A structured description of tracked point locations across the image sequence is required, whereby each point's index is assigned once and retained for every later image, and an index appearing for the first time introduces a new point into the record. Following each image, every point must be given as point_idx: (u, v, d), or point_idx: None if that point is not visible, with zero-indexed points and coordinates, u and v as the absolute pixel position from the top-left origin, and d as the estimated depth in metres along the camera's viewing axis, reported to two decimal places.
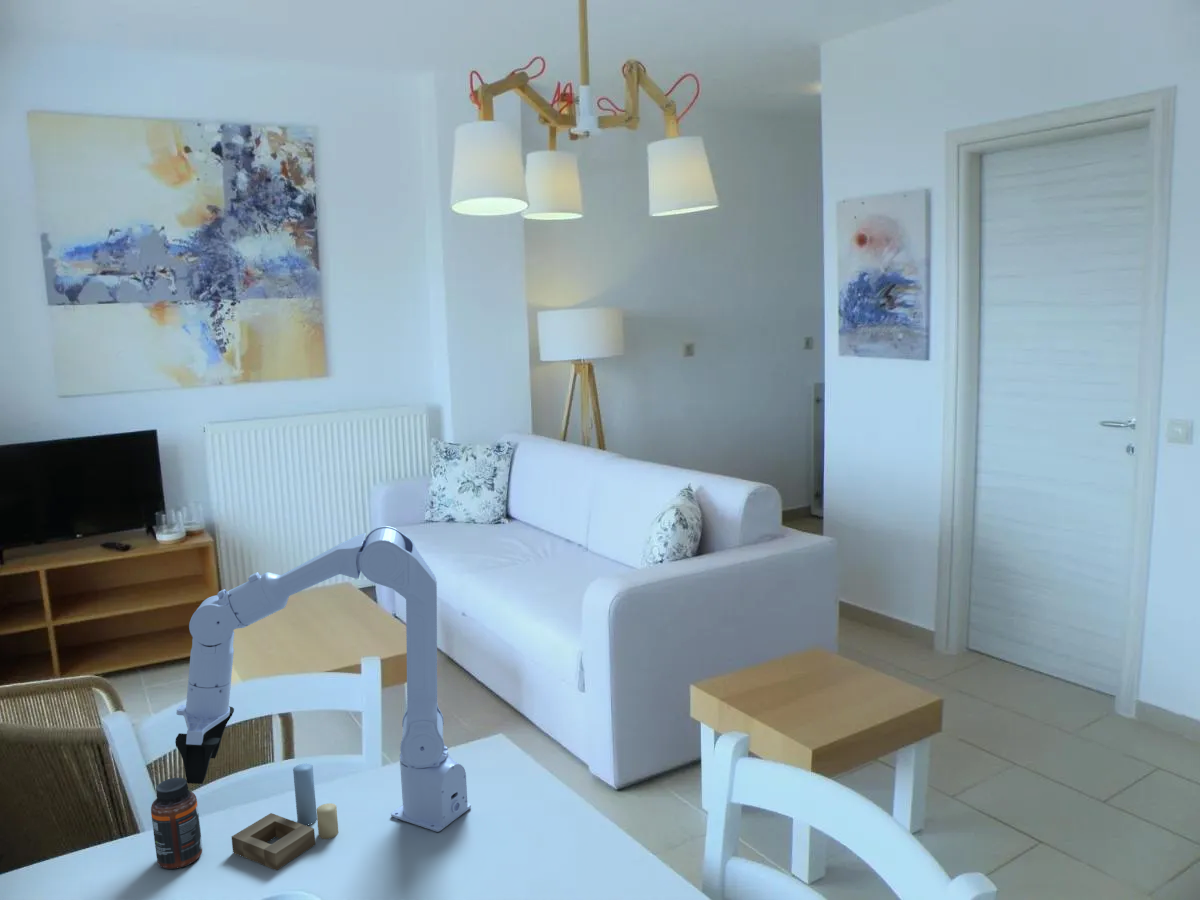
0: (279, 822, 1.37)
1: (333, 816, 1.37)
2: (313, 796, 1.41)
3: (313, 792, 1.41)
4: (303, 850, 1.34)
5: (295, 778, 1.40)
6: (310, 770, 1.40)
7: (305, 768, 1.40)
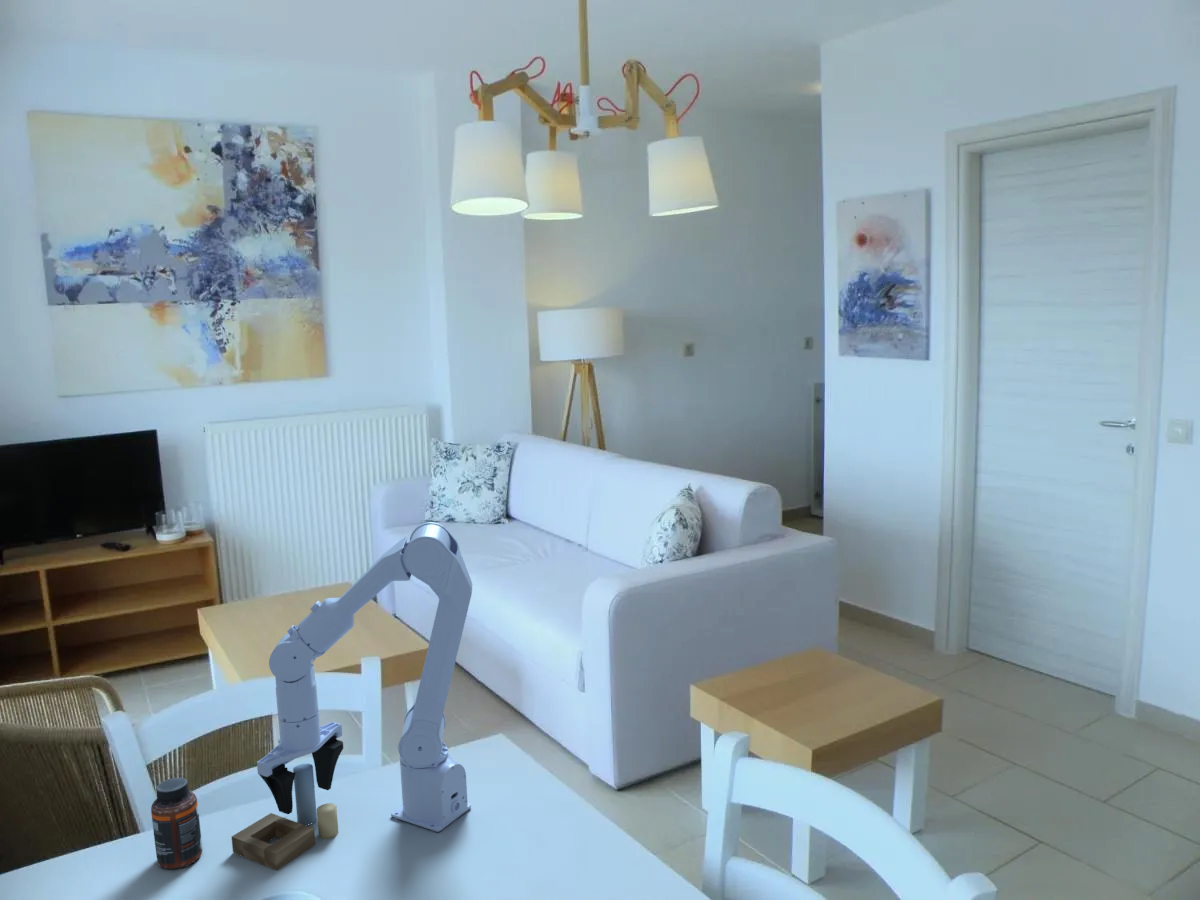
0: (279, 822, 1.37)
1: (333, 816, 1.37)
2: (313, 796, 1.41)
3: (313, 792, 1.41)
4: (303, 850, 1.34)
5: (295, 778, 1.40)
6: (310, 770, 1.40)
7: (305, 768, 1.40)
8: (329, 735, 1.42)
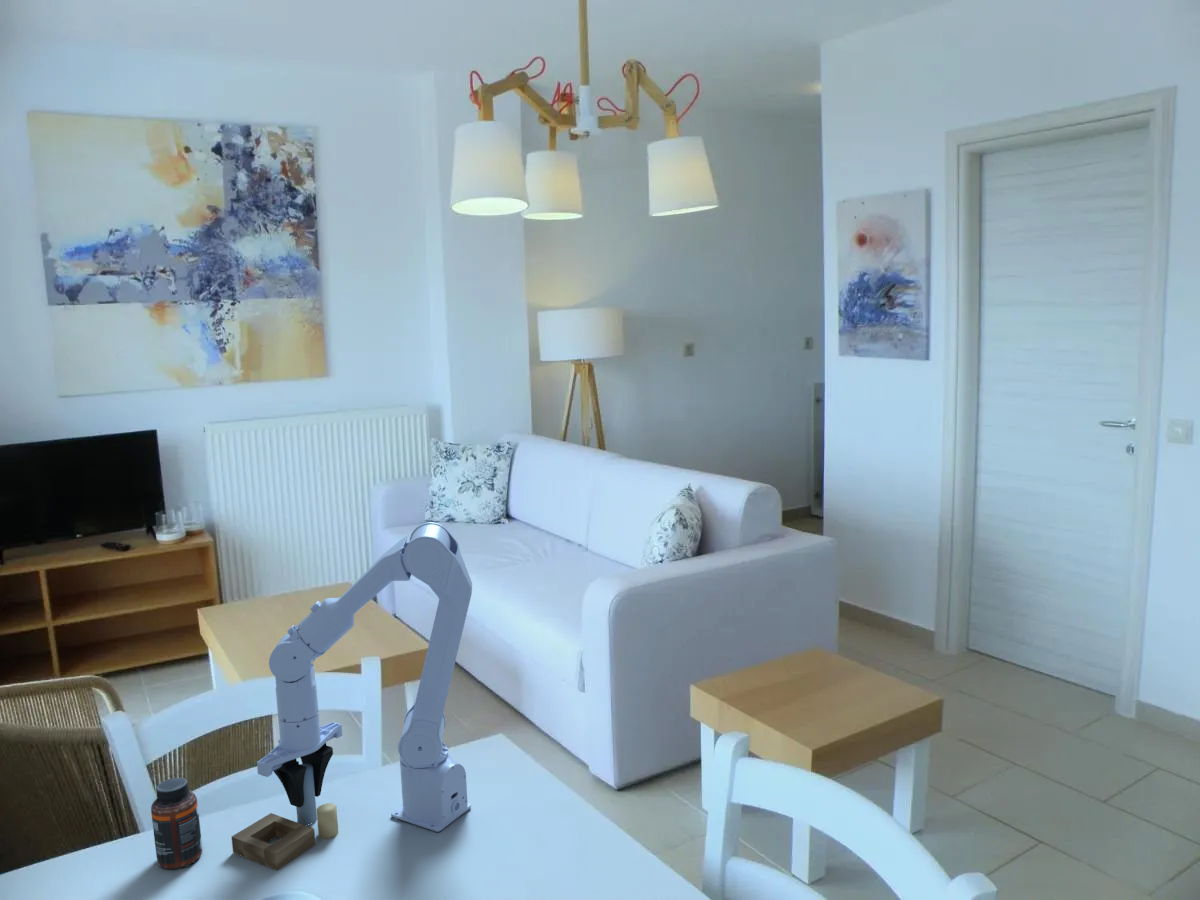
0: (279, 822, 1.37)
1: (333, 816, 1.37)
2: (313, 796, 1.41)
3: (313, 792, 1.41)
4: (303, 850, 1.34)
5: None
6: (310, 770, 1.40)
7: None
8: (329, 735, 1.42)
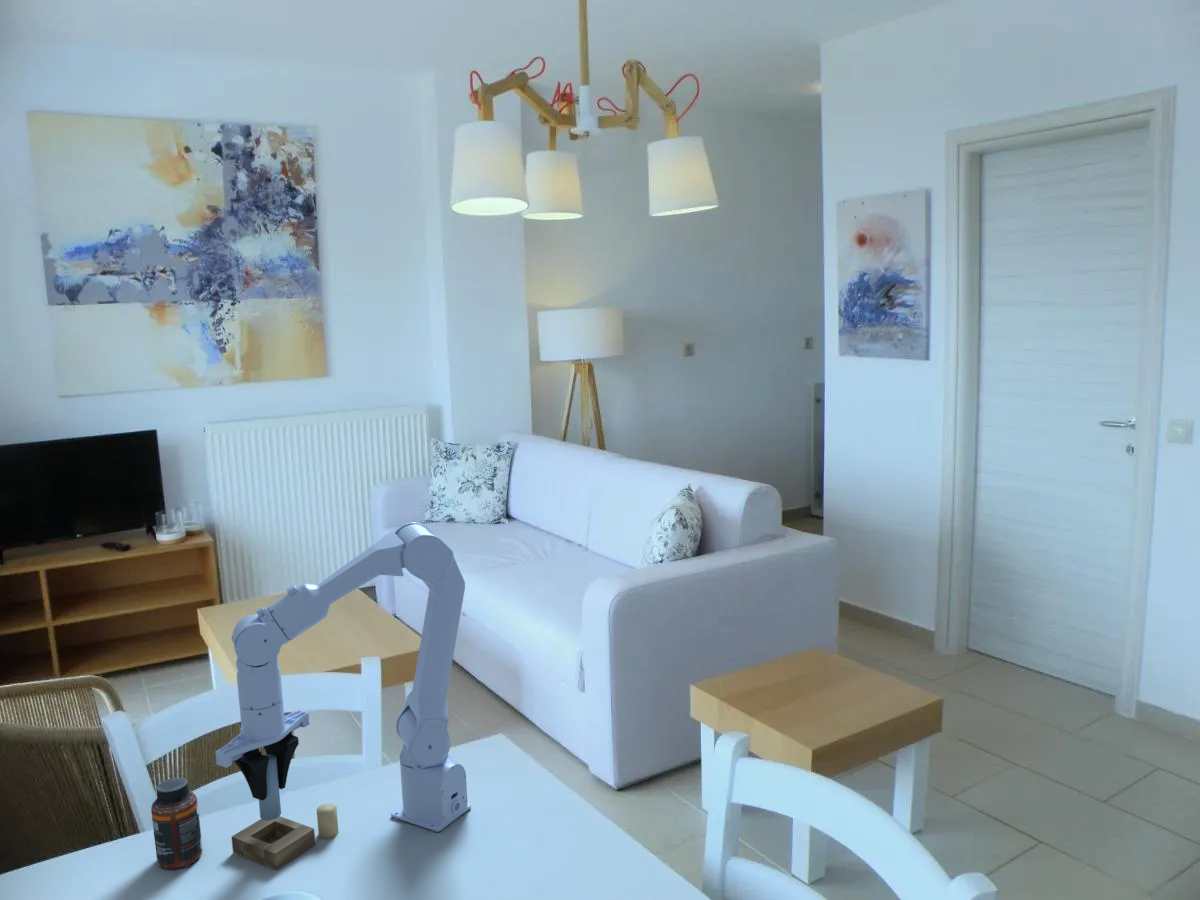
0: (279, 822, 1.37)
1: (333, 816, 1.37)
2: (277, 789, 1.33)
3: (277, 785, 1.33)
4: (303, 850, 1.34)
5: None
6: (273, 761, 1.32)
7: None
8: (294, 724, 1.34)
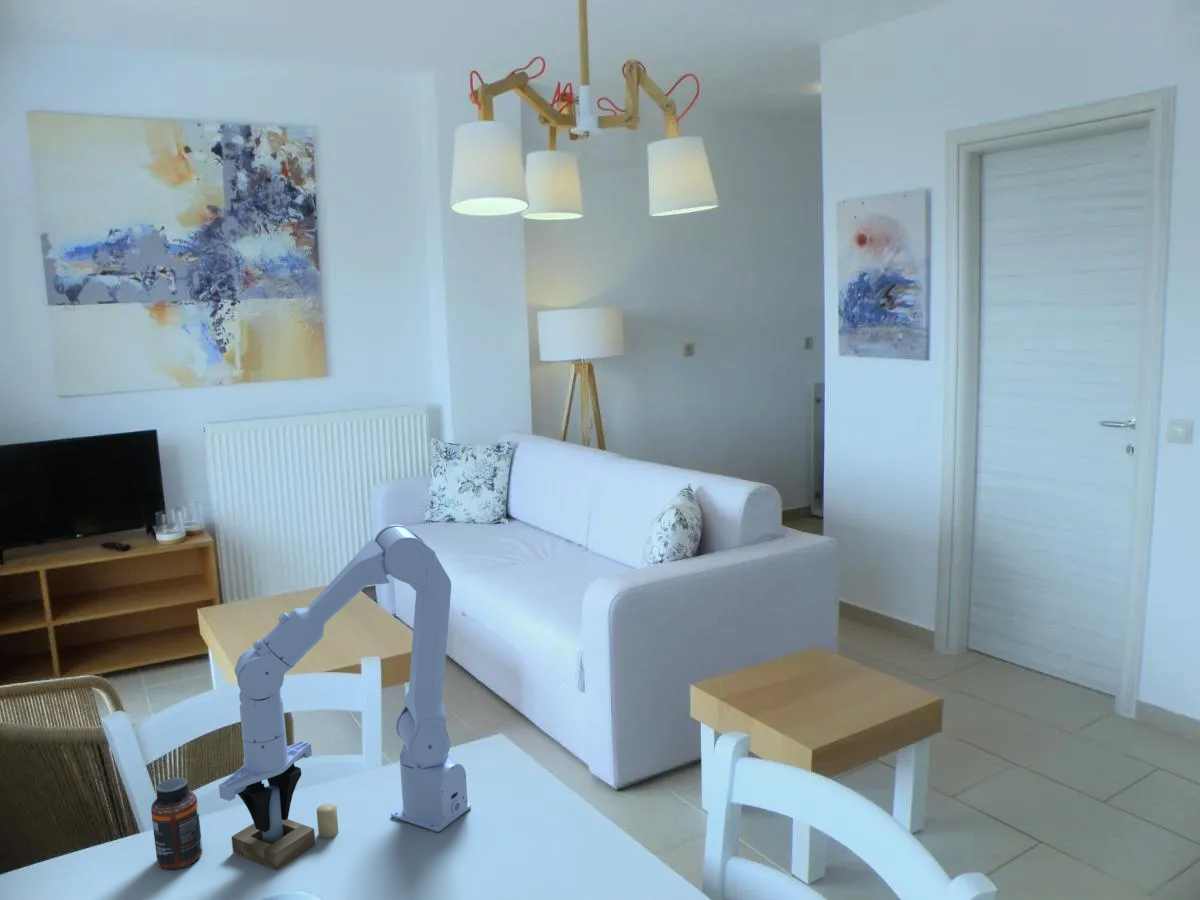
0: None
1: (333, 816, 1.37)
2: (279, 820, 1.34)
3: (279, 816, 1.34)
4: (303, 850, 1.34)
5: None
6: (276, 793, 1.33)
7: None
8: (297, 755, 1.35)
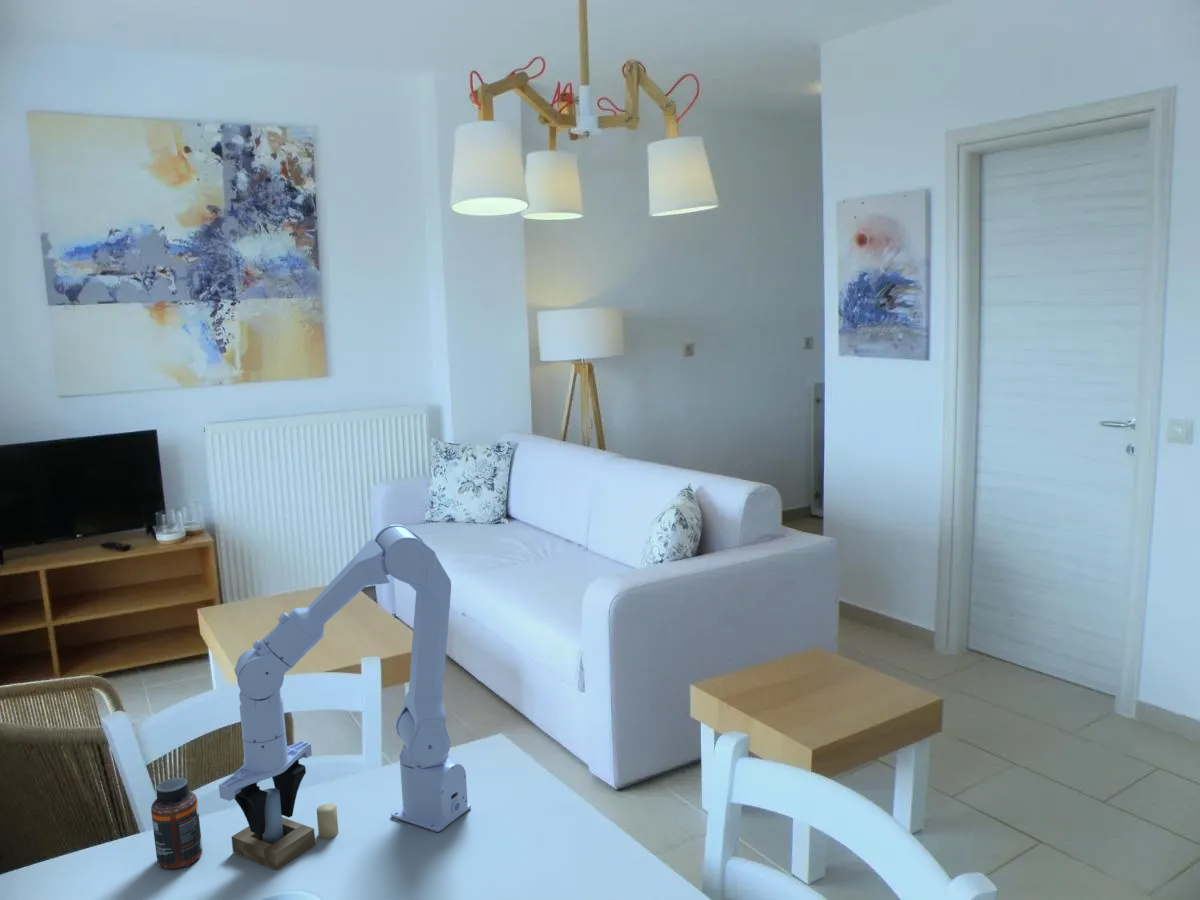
0: None
1: (333, 816, 1.37)
2: (280, 823, 1.34)
3: (280, 819, 1.34)
4: (303, 850, 1.34)
5: None
6: (276, 795, 1.33)
7: (271, 794, 1.33)
8: (297, 755, 1.35)
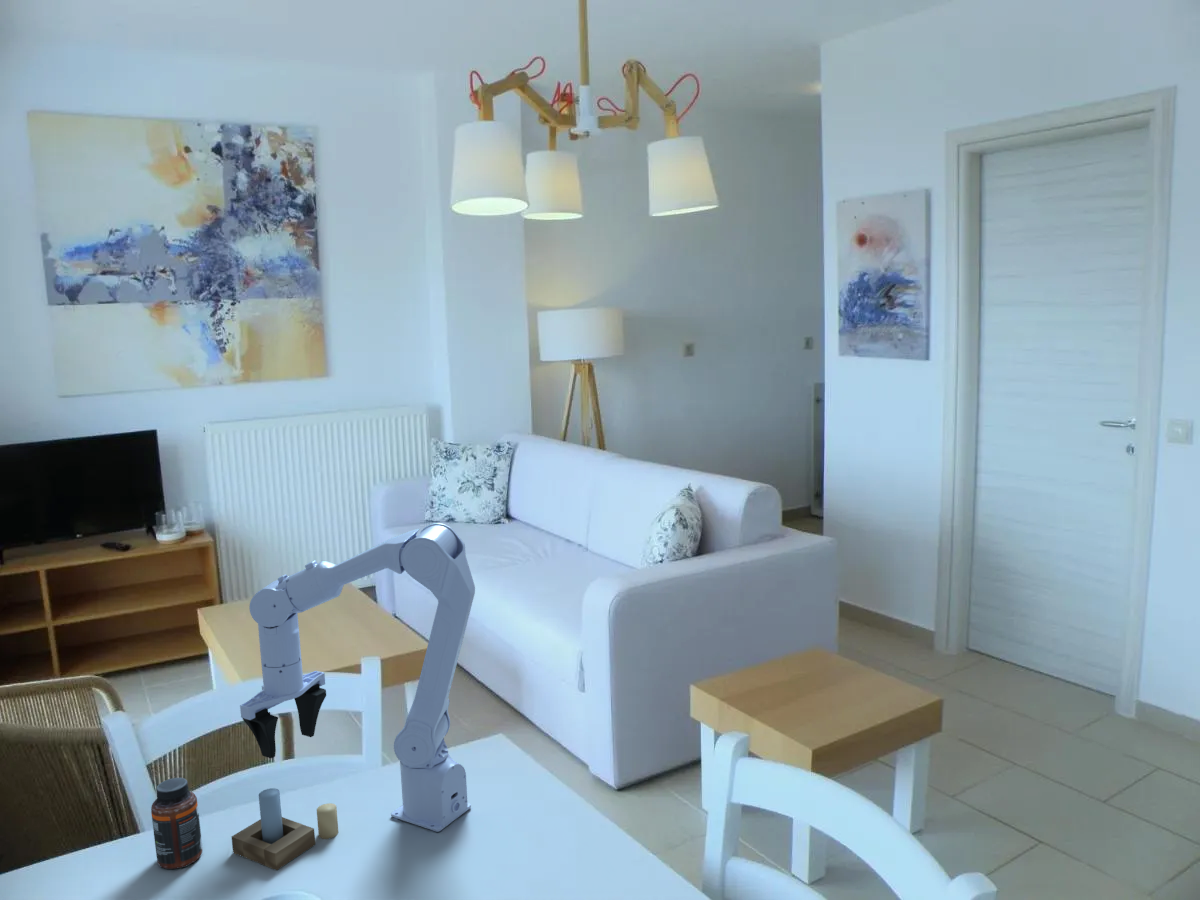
0: None
1: (333, 816, 1.37)
2: (280, 823, 1.34)
3: (280, 819, 1.34)
4: (303, 850, 1.34)
5: (261, 804, 1.33)
6: (276, 796, 1.33)
7: (271, 794, 1.33)
8: (312, 682, 1.45)
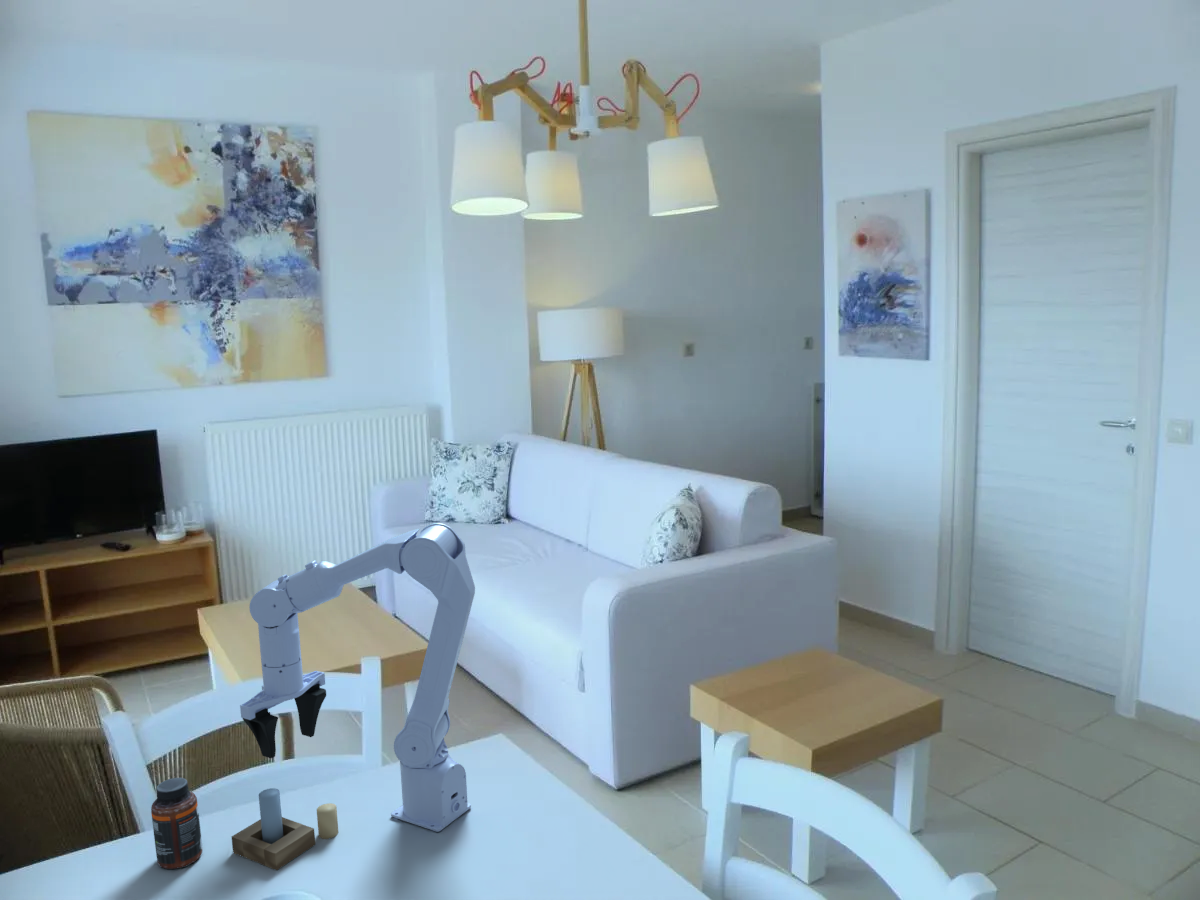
0: None
1: (333, 816, 1.37)
2: (280, 823, 1.34)
3: (280, 819, 1.34)
4: (303, 850, 1.34)
5: (261, 804, 1.33)
6: (276, 796, 1.33)
7: (271, 794, 1.33)
8: (312, 682, 1.45)
